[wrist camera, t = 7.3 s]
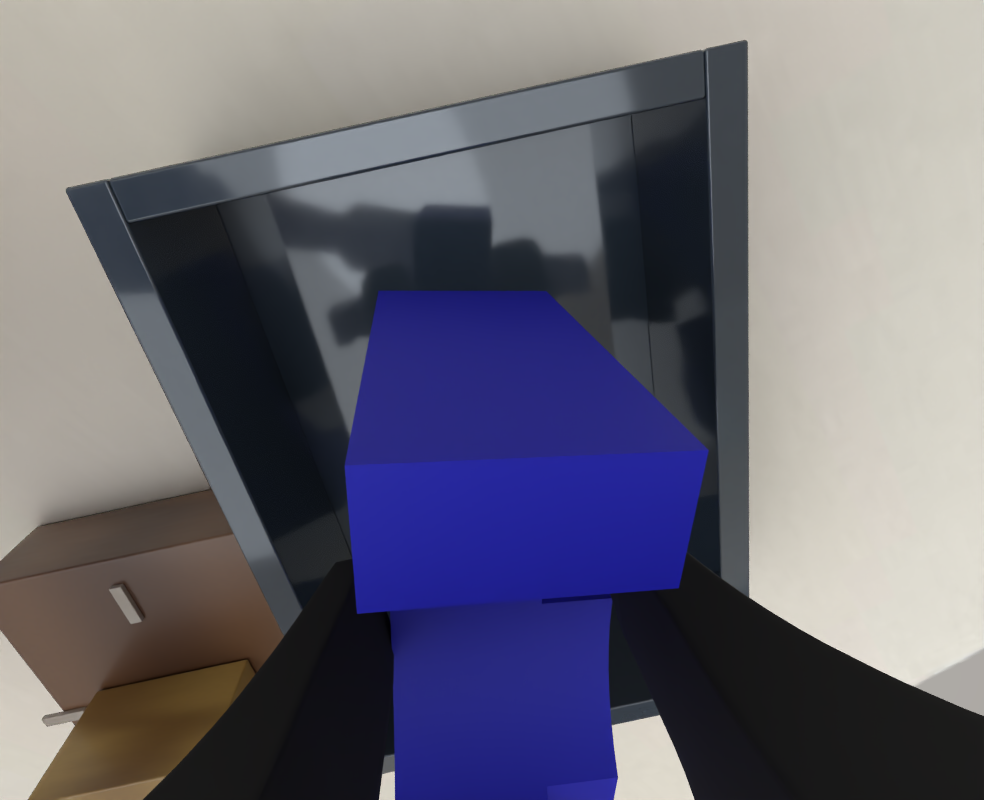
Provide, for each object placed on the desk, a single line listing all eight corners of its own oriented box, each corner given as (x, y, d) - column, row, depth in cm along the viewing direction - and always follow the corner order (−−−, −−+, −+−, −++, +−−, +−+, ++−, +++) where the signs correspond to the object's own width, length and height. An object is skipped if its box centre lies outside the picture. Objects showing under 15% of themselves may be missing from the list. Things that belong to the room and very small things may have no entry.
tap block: (162, 737, 23) (123, 820, 20) (19, 529, 19) (-58, 598, 16) (376, 692, 23) (367, 768, 20) (285, 472, 19) (256, 530, 16)
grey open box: (372, 643, 22) (353, 780, 17) (186, 176, 15) (62, 188, 10) (682, 577, 22) (750, 696, 17) (648, 76, 15) (748, 38, 10)
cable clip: (567, 728, 15) (658, 1048, 10) (401, 746, 15) (397, 1100, 9) (624, 291, 10) (867, 444, 5) (378, 290, 10) (345, 466, 4)
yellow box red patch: (119, 722, 19) (47, 851, 15) (96, 690, 18) (15, 816, 14) (266, 691, 19) (226, 813, 15) (248, 658, 18) (202, 777, 14)
